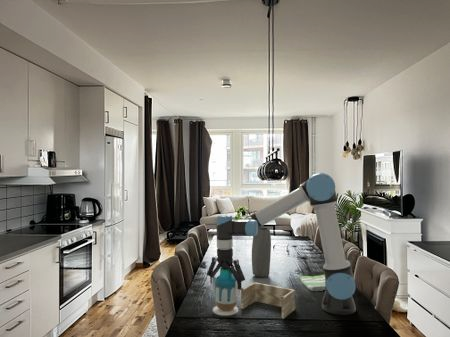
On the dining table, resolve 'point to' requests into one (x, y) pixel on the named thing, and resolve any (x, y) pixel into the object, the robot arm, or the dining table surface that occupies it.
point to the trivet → (225, 311)
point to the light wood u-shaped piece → (269, 297)
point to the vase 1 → (225, 290)
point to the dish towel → (314, 282)
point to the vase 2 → (261, 252)
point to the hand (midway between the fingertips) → (225, 293)
